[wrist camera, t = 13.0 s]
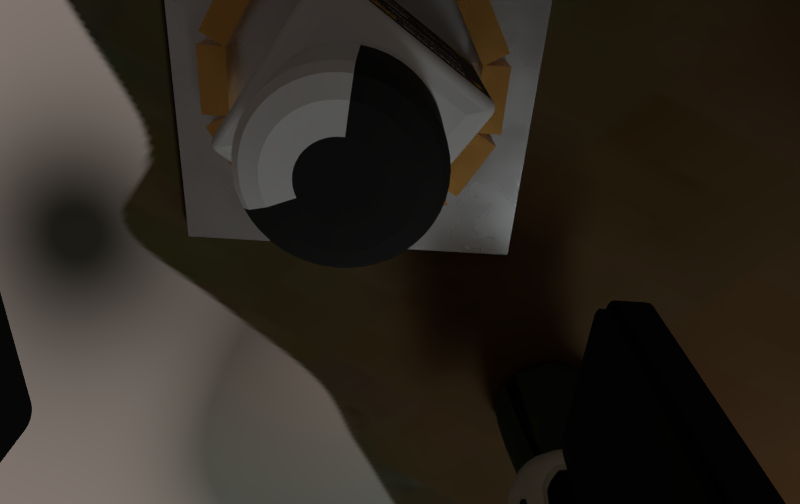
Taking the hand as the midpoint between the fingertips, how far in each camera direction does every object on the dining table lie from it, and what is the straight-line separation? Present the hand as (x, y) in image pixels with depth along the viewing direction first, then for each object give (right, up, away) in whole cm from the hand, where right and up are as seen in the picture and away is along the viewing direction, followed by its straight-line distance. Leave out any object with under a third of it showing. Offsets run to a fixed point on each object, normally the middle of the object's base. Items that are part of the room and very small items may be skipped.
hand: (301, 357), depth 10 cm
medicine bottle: (0, +9, +17) cm, 19 cm away
